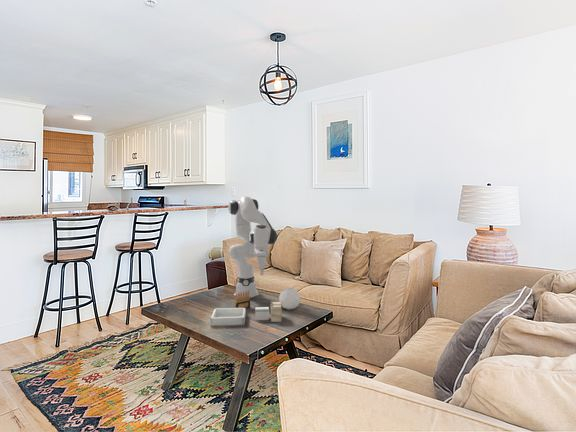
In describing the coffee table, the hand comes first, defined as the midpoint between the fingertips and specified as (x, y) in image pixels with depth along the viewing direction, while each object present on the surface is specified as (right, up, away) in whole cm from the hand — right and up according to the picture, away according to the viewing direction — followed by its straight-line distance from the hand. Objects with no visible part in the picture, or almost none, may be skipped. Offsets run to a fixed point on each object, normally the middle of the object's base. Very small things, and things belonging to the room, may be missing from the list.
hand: (262, 273), depth 217 cm
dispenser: (+9, -27, -4) cm, 29 cm away
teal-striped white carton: (0, -27, -5) cm, 28 cm away
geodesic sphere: (+17, -26, +15) cm, 34 cm away
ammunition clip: (-14, -26, +14) cm, 33 cm away
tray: (-20, -27, -6) cm, 34 cm away
